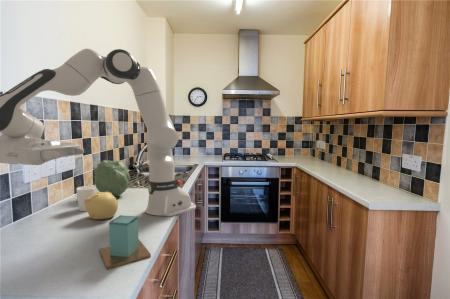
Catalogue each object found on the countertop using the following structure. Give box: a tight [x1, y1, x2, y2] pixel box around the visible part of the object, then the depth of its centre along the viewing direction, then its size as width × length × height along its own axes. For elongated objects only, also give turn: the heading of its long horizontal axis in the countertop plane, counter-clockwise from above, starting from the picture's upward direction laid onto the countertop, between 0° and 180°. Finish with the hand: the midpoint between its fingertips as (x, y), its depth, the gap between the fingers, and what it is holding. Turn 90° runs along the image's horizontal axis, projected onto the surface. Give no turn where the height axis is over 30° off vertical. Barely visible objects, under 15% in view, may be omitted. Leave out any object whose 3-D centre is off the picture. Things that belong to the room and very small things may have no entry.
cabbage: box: [92, 159, 131, 198], centre depth 136 cm, size 16×19×20 cm
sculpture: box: [84, 191, 119, 220], centre depth 106 cm, size 11×12×11 cm
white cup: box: [76, 185, 97, 212], centre depth 116 cm, size 8×8×10 cm
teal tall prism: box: [108, 214, 139, 257], centre depth 76 cm, size 6×6×10 cm
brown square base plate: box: [99, 238, 152, 270], centre depth 76 cm, size 17×17×8 cm
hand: (71, 152), depth 81 cm, fingers open, 8 cm apart
